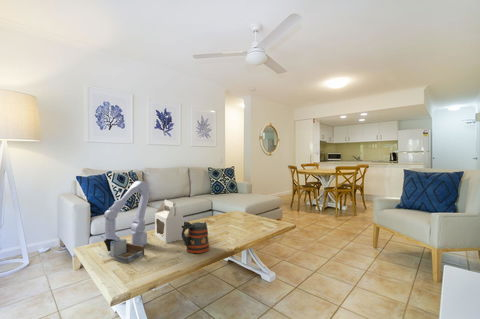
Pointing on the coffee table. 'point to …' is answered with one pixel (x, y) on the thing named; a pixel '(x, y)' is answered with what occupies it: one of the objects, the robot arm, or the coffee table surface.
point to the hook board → (131, 248)
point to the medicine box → (118, 247)
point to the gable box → (168, 222)
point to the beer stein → (196, 237)
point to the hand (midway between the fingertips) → (109, 250)
